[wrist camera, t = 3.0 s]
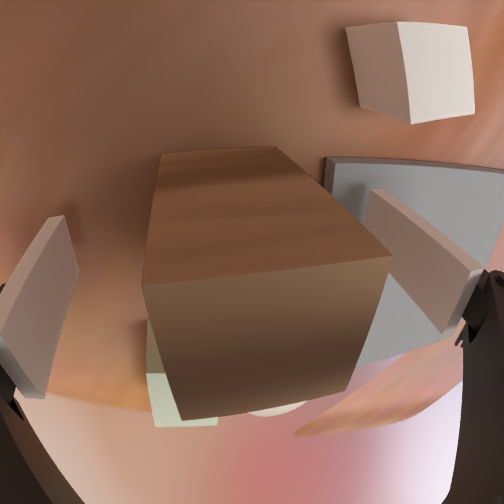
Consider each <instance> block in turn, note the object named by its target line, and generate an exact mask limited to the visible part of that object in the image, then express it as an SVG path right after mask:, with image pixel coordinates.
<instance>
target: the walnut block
mask: <svg viewBox="0 0 504 504" xmlns="http://www.w3.org/2000/svg"><path fill="white" fill-rule="evenodd" d="M392 259H393V255H392V254H391V253H390V252H389V251H388V249H387V248H386V247H385V246H384V245H383V244H382V243H381V242H380V241H379V240H378V239H377V238H376V237H375V236H374V235H373V234H372V233H371V232H370V231H369V230H368V229H367V228H366V227H365V226H363V225H362V224H361V223H360V222H359V221H358V220H357V219H356V218H355V217H354V216H353V215H352V214H351V213H350V212H349V211H348V210H347V209H346V208H345V207H344V206H343V205H341V204H340V203H339V202H338V201H337V200H336V199H335V198H334V197H333V196H332V195H331V194H330V193H328V192H327V191H326V190H325V189H324V188H323V187H322V186H321V185H320V184H319V183H317V182H316V181H315V180H314V179H313V178H312V177H311V176H310V175H308V174H307V173H306V172H305V171H304V170H303V169H302V168H300V167H299V166H298V165H297V164H296V163H295V162H293V161H292V160H291V159H290V158H289V157H288V156H286V155H285V154H284V153H283V152H282V151H280V150H279V149H278V148H277V147H248V148H227V149H211V150H197V151H185V152H174V153H164V154H161V158H160V163H159V169H158V174H157V179H156V185H155V190H154V196H153V202H152V208H151V214H150V221H149V227H148V234H147V241H146V249H145V257H144V265H143V274H142V283H141V287H142V291H143V295H144V299H145V303H146V307H147V311H148V315H149V319H150V322H151V326H152V330H153V333H154V337H155V340H156V344H157V347H158V351H159V354H160V357H161V361H162V364H163V367H164V370H165V373H166V377H167V380H168V383H169V386H170V389H171V392H172V395H173V398H174V401H175V403H176V406H177V409H178V412H179V415H180V418H181V420H182V421H187V420H197V419H206V418H214V417H221V416H228V415H235V414H241V413H248V412H253V411H259V410H265V409H270V408H275V407H280V406H285V405H290V404H294V403H299V402H303V401H307V400H311V399H315V398H320V397H324V396H327V395H331V394H335V393H338V392H342V391H345V390H346V388H347V386H348V383H349V381H350V378H351V376H352V374H353V371H354V369H355V367H356V364H357V362H358V359H359V357H360V354H361V351H362V349H363V346H364V344H365V341H366V338H367V336H368V333H369V330H370V327H371V324H372V322H373V319H374V316H375V313H376V310H377V307H378V304H379V301H380V298H381V295H382V292H383V289H384V286H385V282H386V279H387V276H388V272H389V269H390V266H391V262H392Z"/></svg>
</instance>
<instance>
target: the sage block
mask: <svg viewBox="0 0 504 504" xmlns="http://www.w3.org/2000/svg"><path fill="white" fill-rule="evenodd" d="M146 377H147V384H148V391H149V397H150V403H151V409H152V414H153V419H154V425H155V427H186V426H209V425H217V422H218V417H214V418H206V419H197V420H187V421H182V420H181V418H180V415H179V412H178V409H177V406H176V403H175V401H174V398H173V395H172V392H171V389H170V386H169V383H168V380H167V377H166V373H165V370H164V367H163V364H162V361H161V357H160V354H159V351H158V347H157V344H156V340H155V337H154V333H153V330H152V326H151V322H150V319H147V343H146Z"/></svg>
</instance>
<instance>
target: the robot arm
mask: <svg viewBox="0 0 504 504" xmlns="http://www.w3.org/2000/svg"><path fill="white" fill-rule="evenodd" d="M363 226H365V227H366V228H367V229H368V230H369V231H370V232H371V233H372V234H373V235H374V236H375V237H376V238H377V239H378V240H379V241H380V242H381V243H382V244H383V245H384V246H385V247H386V248H387V249H388V251H389V252H390V253H391V254H392V255H393V259H392V262H391V266H390V269H389V273H390V275H391V276H392V277H393V278H394V279H395V280H396V281H397V282H398V284H399V285H400V286H401V287H402V288H403V289H404V290H405V292H406V293H407V294H408V295H409V296H410V297H411V299H412V300H413V301H414V302H415V303H416V304H417V306H418V307H419V308H420V309H421V310H422V312H423V313H424V314H425V315H426V316H427V318H428V319H429V320H430V321H431V322H432V324H433V325H434V326H435V327H436V329H437V330H438V331H439V332H440V333H441V335H442V334H445V333H448V332H450V331H453V330H455V329H456V327H457V325H458V323H459V321H460V319H461V317H463V319H464V320H465V321H466V323H465V325H464V327H463V329H462V331H461V333H460V335H459V336H458V338H457V340H456V342H455V346H457V345H458V343H459V342H460V341H461V340H463V343H462V345H461V347H463V392H462V408H461V421H460V430H459V439H458V447H457V453H456V460H455V466H454V472H453V477H452V482H451V487H450V491H449V493H448V495H447V497H446V498H445V500H444V501H443V502H442V504H504V272H501V271H497V270H494V271H491V272H490V273H488V272H487V271H486V270H485V269H484V268H483V267H482V266H481V265H480V264H479V263H478V262H477V261H475V260H474V259H473V258H472V257H471V256H470V255H469V254H467V253H466V252H465V251H464V250H463V249H461V248H460V247H459V246H458V245H457V244H455V243H454V242H453V241H452V240H451V239H449V238H448V237H447V236H446V235H444V234H443V233H442V232H441V231H439V230H438V229H437V228H436V227H434V226H433V225H432V224H430V223H429V222H428V221H427V220H425V219H424V218H423V217H421V216H420V215H419V214H417V213H416V212H415V211H413V210H412V209H411V208H409V207H408V206H407V205H405V204H404V203H402V202H401V201H400V200H398V199H397V198H395V197H394V196H393V195H391V194H390V193H388V192H387V191H386V190H384V189H370V190H369V196H368V202H367V208H366V213H365V219H364V224H363ZM79 274H80V268H79V265H78V262H77V259H76V256H75V252H74V249H73V245H72V242H71V238H70V234H69V231H68V227H67V223H66V219H65V215H61V216H55V217H49V218H48V219H47V221H46V222H45V223H44V225H43V226H42V228H41V229H40V231H39V232H38V233H37V235H36V236H35V238H34V239H33V241H32V242H31V244H30V245H29V247H28V248H27V250H26V251H25V253H24V255H23V256H22V258H21V259H20V261H19V263H18V264H17V266H16V267H15V269H14V271H13V272H12V274H11V276H10V277H9V279H8V281H7V283H5V284H2V285H1V286H0V504H85V503H84V502H83V501H82V500H81V498H80V497H79V496H78V495H77V493H76V492H75V491H74V489H73V488H72V487H71V486H70V484H69V483H68V481H67V480H66V479H65V477H64V476H63V475H62V473H61V472H60V471H59V469H58V468H57V466H56V465H55V463H54V462H53V460H52V459H51V457H50V456H49V454H48V453H47V451H46V450H45V448H44V447H43V445H42V443H41V442H40V440H39V438H38V437H37V435H36V434H35V432H34V430H33V428H32V427H31V425H30V423H29V421H28V419H27V418H26V416H25V414H24V412H23V410H22V408H21V406H20V405H19V403H18V401H17V400H16V399H15V398H14V397H13V396H14V392H15V388H16V387H17V388H18V390H19V391H20V392H21V393H22V395H23V396H24V397H25V398H36V399H45V394H46V389H47V384H48V380H49V376H50V371H51V367H52V363H53V359H54V355H55V351H56V347H57V344H58V340H59V336H60V333H61V329H62V326H63V323H64V319H65V316H66V313H67V310H68V307H69V303H70V300H71V297H72V294H73V291H74V288H75V286H76V283H77V280H78V277H79Z"/></svg>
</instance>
